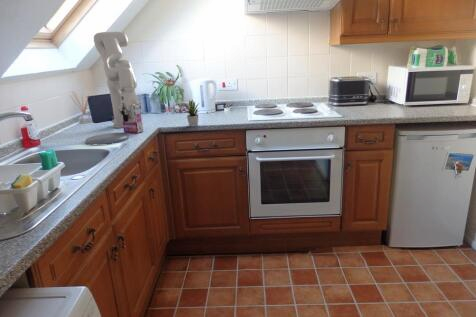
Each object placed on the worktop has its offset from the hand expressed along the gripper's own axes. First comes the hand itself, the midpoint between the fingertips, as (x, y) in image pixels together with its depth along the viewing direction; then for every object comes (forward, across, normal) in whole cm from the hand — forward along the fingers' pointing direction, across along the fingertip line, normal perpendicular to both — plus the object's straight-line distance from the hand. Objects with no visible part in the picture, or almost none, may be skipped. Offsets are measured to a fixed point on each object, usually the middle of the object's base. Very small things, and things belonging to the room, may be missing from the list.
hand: (132, 120), depth 205 cm
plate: (+7, -19, +2) cm, 20 cm away
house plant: (+8, +25, -23) cm, 35 cm away
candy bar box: (+7, 0, +1) cm, 8 cm away
